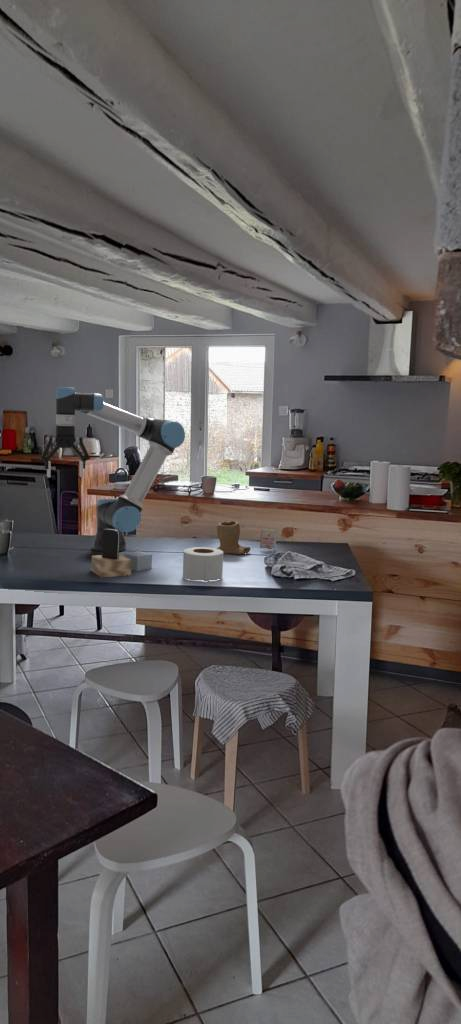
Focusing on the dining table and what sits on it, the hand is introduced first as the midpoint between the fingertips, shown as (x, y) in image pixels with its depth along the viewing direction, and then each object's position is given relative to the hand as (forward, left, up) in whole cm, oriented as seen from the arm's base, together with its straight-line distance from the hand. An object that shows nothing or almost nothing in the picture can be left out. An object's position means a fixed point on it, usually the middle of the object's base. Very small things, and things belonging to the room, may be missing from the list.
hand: (65, 477), depth 302 cm
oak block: (-10, +30, -35) cm, 47 cm away
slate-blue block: (-23, +25, -35) cm, 49 cm away
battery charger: (-10, +30, -29) cm, 42 cm away
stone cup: (-74, +11, -35) cm, 83 cm away
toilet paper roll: (-41, +48, -35) cm, 72 cm away
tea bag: (-94, +10, -35) cm, 101 cm away
